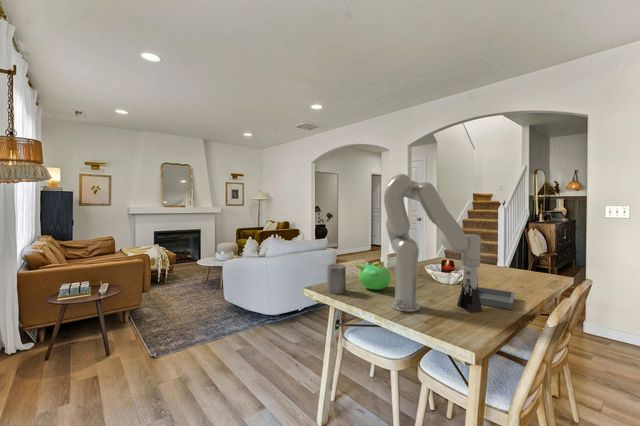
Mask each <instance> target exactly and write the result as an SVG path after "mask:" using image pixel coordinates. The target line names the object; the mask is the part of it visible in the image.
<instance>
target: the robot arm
mask: <svg viewBox="0 0 640 426" xmlns="http://www.w3.org/2000/svg"><path fill="white" fill-rule="evenodd" d="M405 198H406V199H410V200H414V201H417V202H419V203H420V205H421V207H422V208H423V210H424V212H425V215H426V216H427V217H428V219H429V220H430V221H431V223H432V224H434V226H436V227H437V228H438V229H439V230H440V231H441V232H442V234H443V237H442V238H441V243H442V246H443V247H444V248H445V249H446V250H448V251H449V250H450V251H452V252H454V253H457V254H459V253H460V254H461V255H460V257H461V259H460V262H461V263H460V265H461V266H462V267H463V271H462V272H463V276H462V277H463V278H462V281H463V282H462V283H463V287H464V288H465V292H464V303H465V304H471V305H472V289H474V290H475V289H476V288H477V284H478V285H479V267H481V243H482V242H481V241H482V240H481V237H480V235H478V234H473V233H472V234H468V233H467V234H466V233H465V232H464V230H463V229H462V227H461V225H460V224H459V223H458V222H457V220H456V219H455V217H453V215H452V214H451V213H450V211H449V210H448V209H447V207H446V206H445V204H444V201H443V200H442V198H441V196H440V194H439V193H438V191H437V189H436V188H435V186H434V185H433V184H432V183H431V182H427V181H424V182H418V181H414V180H411V178H410V177H409V175H408V174H404V173H399V174H396V175H395V176H392V177H391V178H390V179H389V180H388V185H387V186H386V189H385V191H384V195H383V203H384V207H385V212H386V216H387V217H386V218H387V219H386V222H385V227H386V231H387V236H388V239H389V242H390V245H391V248H392V250H393V252H394V253H395V254H396V255H395V256H396V257H395V264H394V265H395V266H394V269H395V270H394V273H395V275H394V300H393V301H392V302H391V303H390V304H391V308H392V309H394V310H397V311H400V312H407V313H408V312H409V313H411V312H413V313H414V312H418V311H420V310H421V305H420V304H419V303H417V299H418V296H417V294H418V285H417V284H418V262H419V261H418V260H419V254H420V251H419V250H420V248H419V245H418V243H417V242H416V241H415V240H414V239H413V238H412V237H410V236H411V235H410V233H409V232H410V229H411V221H410V219H409V217H408V214H407V209H406V204H405ZM469 287H471V288H469Z"/></svg>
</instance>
